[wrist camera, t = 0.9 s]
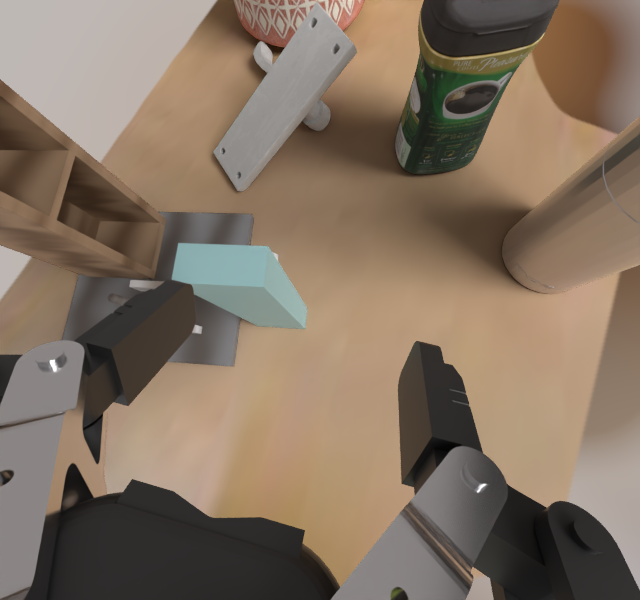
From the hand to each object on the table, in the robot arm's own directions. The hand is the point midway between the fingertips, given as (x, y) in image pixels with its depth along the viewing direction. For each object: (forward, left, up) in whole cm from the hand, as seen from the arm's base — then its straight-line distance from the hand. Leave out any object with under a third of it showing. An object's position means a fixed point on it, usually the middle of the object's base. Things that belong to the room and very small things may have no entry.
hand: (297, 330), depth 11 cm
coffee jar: (-28, -7, -24) cm, 38 cm away
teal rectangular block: (0, -7, -24) cm, 25 cm away
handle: (-19, -28, -24) cm, 42 cm away
